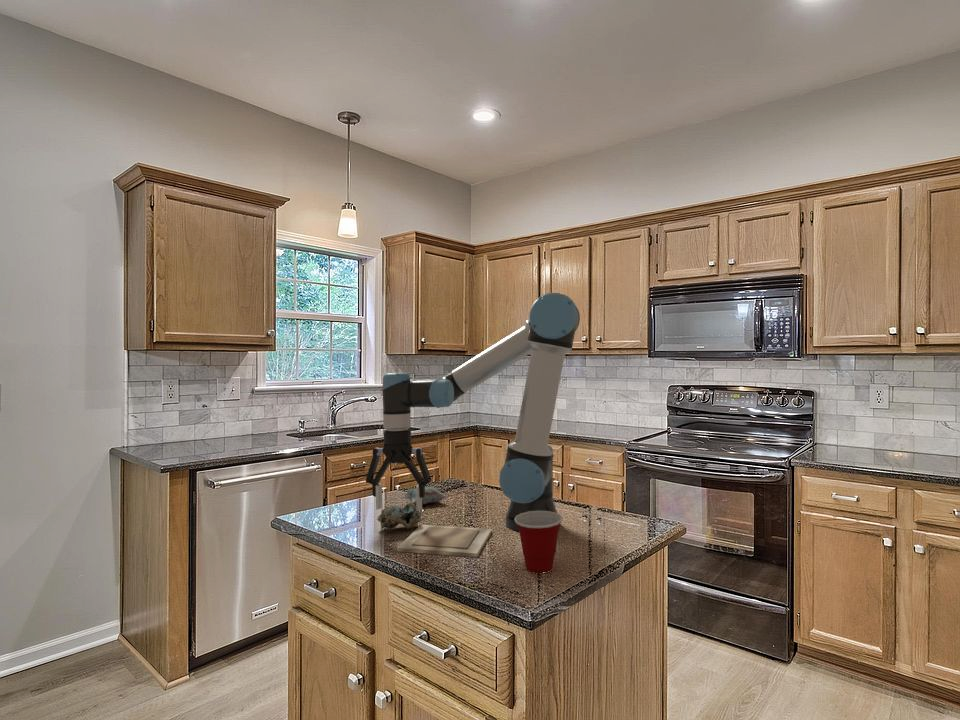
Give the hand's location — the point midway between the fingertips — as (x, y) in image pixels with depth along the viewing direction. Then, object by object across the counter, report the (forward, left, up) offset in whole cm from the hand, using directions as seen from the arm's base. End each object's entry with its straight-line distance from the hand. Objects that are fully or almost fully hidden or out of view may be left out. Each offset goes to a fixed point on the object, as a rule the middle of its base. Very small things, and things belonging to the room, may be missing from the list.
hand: (399, 508), depth 159 cm
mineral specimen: (+1, 0, -6) cm, 6 cm away
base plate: (-15, +7, -6) cm, 18 cm away
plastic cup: (-40, +22, -6) cm, 46 cm away
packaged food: (+3, -25, -7) cm, 27 cm away
